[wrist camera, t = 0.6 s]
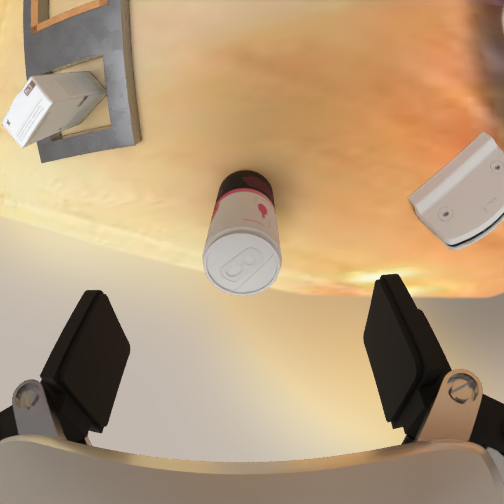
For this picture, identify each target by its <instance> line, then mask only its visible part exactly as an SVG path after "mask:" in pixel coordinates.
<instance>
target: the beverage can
mask: <svg viewBox="0 0 504 504" xmlns="http://www.w3.org/2000/svg"><path fill="white" fill-rule="evenodd" d="M281 261H282V258H281V250H280V242H279V235H278V227H277V220H276V213H275V205H274V198H273V192H272V188H271V185H270V184H269V182H268V181H267V180H266V179H265V178H264V177H263V176H262V175H260V174H258V173H256V172H253V171H238V172H235V173H233V174H231V175H229V176H228V177H227V178H226V179H225V180H224V181H223V182H222V184H221V186H220V189H219V193H218V196H217V200H216V204H215V208H214V212H213V216H212V219H211V223H210V227H209V231H208V235H207V239H206V243H205V248H204V252H203V265H204V270H205V274H206V276H207V278H208V279H209V281H210V282H211V283H212V284H213V285H214V286H215V287H217V288H218V289H220V290H222V291H223V292H226V293H229V294H233V295H239V296H246V295H253V294H257V293H259V292H262V291H263V290H265V289H267V288H268V287H269V286H271V285H272V284H273V282H274V281H275V280H276V278H277V276H278V274H279V270H280V267H281Z"/></svg>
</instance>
